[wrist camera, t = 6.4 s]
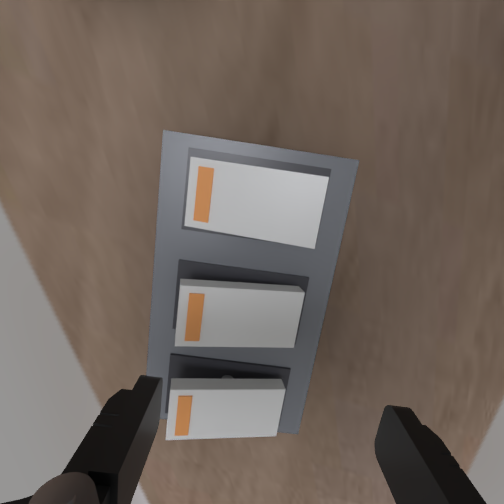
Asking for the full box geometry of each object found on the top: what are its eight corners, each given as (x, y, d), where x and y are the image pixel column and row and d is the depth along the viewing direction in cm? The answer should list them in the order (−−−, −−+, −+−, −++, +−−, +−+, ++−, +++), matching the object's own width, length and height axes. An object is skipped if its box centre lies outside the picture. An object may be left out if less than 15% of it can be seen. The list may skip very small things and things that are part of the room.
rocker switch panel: (343, 161, 20) (360, 160, 17) (292, 403, 25) (298, 436, 22) (175, 136, 20) (162, 129, 17) (156, 387, 24) (142, 418, 21)
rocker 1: (327, 177, 16) (329, 177, 15) (313, 242, 17) (314, 249, 16) (200, 158, 17) (189, 156, 16) (194, 221, 18) (183, 226, 16)
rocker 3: (278, 373, 21) (285, 390, 19) (270, 417, 22) (276, 437, 20) (172, 371, 19) (170, 390, 18) (167, 419, 20) (165, 441, 19)
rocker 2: (295, 282, 19) (305, 293, 18) (285, 333, 20) (294, 348, 18) (180, 274, 18) (180, 286, 16) (175, 331, 18) (174, 347, 17)
